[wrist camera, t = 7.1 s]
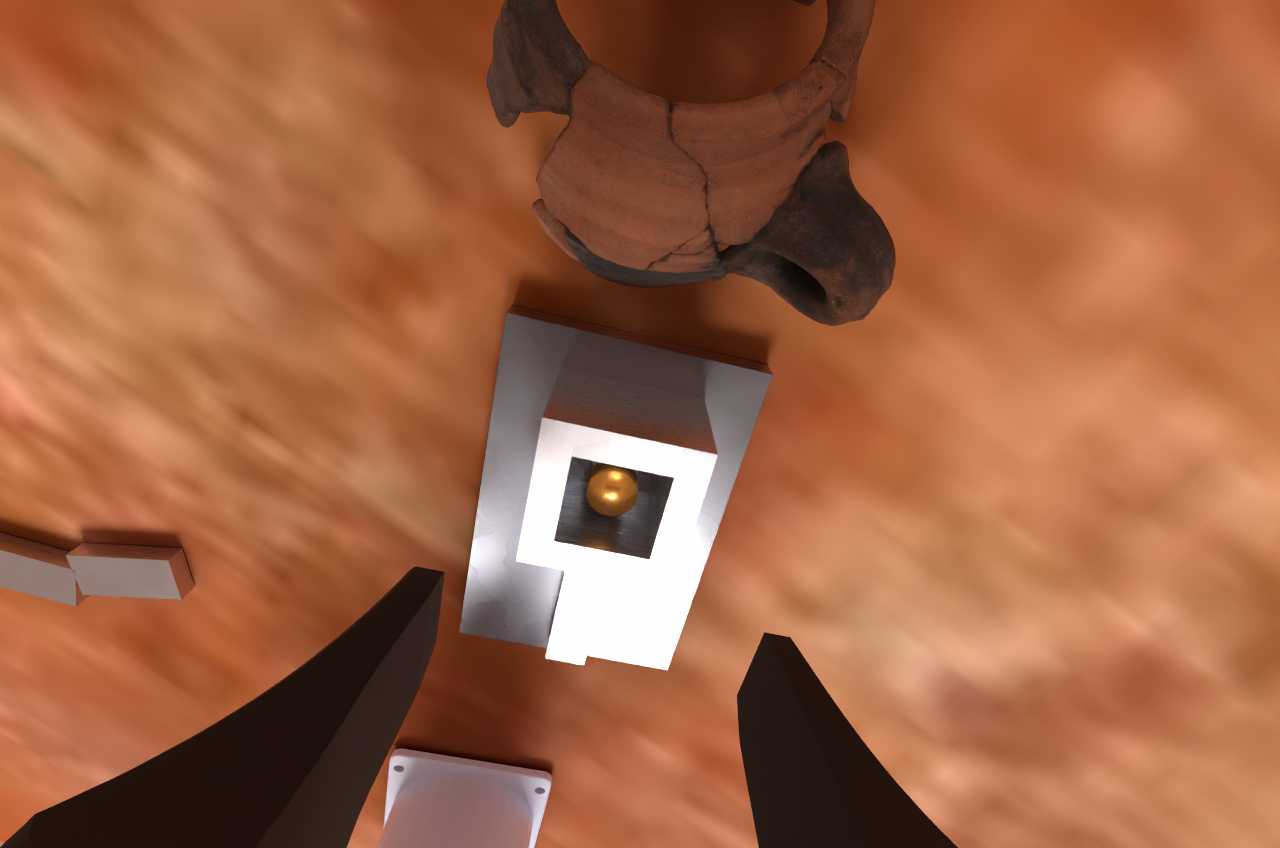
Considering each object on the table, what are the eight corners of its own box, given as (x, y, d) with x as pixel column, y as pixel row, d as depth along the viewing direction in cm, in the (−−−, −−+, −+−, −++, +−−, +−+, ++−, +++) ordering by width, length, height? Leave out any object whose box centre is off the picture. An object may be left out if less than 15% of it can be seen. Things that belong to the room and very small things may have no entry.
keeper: (666, 652, 27) (670, 731, 23) (465, 615, 26) (436, 692, 22) (767, 364, 21) (793, 411, 17) (512, 305, 20) (483, 340, 16)
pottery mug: (456, 195, 19) (355, -18, 11) (639, -7, 20) (672, -337, 12) (747, 430, 19) (864, 394, 11) (913, 215, 20) (1131, 39, 12)
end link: (668, 518, 22) (673, 590, 19) (537, 492, 22) (516, 560, 18) (704, 399, 20) (717, 454, 17) (560, 367, 20) (542, 417, 16)
